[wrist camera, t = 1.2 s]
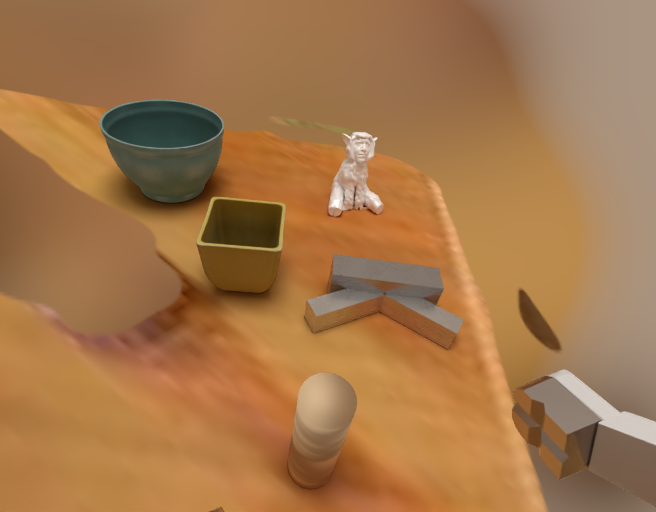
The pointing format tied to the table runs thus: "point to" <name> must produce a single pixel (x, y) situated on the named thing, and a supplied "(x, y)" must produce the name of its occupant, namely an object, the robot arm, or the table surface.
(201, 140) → the flower pot
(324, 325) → the crossed grey wooden bars
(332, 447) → the dowel
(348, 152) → the sitting furry creature
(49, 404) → the table surface
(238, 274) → the flower pot
